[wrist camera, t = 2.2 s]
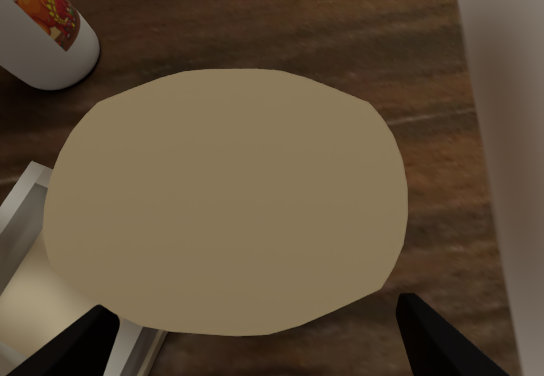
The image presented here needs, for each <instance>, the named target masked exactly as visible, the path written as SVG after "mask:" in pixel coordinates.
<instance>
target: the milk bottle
mask: <svg viewBox="0 0 544 376" xmlns="http://www.w3.org/2000/svg"><path fill="white" fill-rule="evenodd" d="M99 50H100V47H99V42H98V38H97V36H96V34H95V32H94V31H93V30H92V28H91V27H90V26H89V25H88V23H87V22H86V21H85V20H84V18H83V17H82V16H81V15H80V13H79V12H78V11H77V10H76V8H75V7H74V6H73V5H72V4H71V2H70V1H69V0H0V65H1V66H2V67H4V68H5V69H6V70H8V71H9V72H11V73H12V74H14V75H15V76H16V77H18V78H19V79H21V80H22V81H24V82H25V83H27V84H28V85H30V86H32V87H35V88H39V89H43V90H59V89H63V88H66V87H69V86H71V85H73V84H75V83H77V82H79V81H80V80H82V79H83V78H84V77H85V76H86V75H87V74H89V73H90V71H91V70H92V69H93V67H94V66H95V64H96V62H97V60H98V57H99Z"/></svg>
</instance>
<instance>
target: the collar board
mask: <svg viewBox="0 0 544 376" xmlns="http://www.w3.org/2000/svg"><path fill="white" fill-rule="evenodd" d="M52 172H53V170H52V169H50V168H47V167H45V166H43V165H40V164H38V163H35V162H33V161H31V163H30V164H29V166H28V167H27V169H26V170H25V172H24V173H23V175H22V176H21V177H20V179H19V180H18V182H17V183H16V185H15V186H14V188H13V189H12V191H11V192H10V194H9V195H8V197H7V198H6V199H5V201H4V202H3V204H2V205H1V207H0V376H6V375H7V374H8V373H9V372H11V371H12V370H13V369H15V368H16V367H17V366H18V365H20V364H21V363H22V362H23V361H25V360H26V359H27V358H29V357H30V356H31V355H32V354H34V353H35V352H36V351H38V350H39V349H40V348H41V347H43V346H44V345H45V344H47V343H48V342H49V341H50V340H52V339H53V338H54V337H56V336H57V335H58V334H59V333H61V332H62V331H63V330H64V329H66V328H67V327H68V326H70V325H71V324H72V323H73V322H75V321H76V320H77V319H79V318H80V317H81V316H82V315H84V314H85V313H86V312H88V311H89V310H90V309H91V308H93V307H94V306H96V305H98V304H99V303H98V302H96V301H95V300H93V299H92V298H90V297H89V296H87V295H86V294H84V293H83V292H82V291H80V290H79V289H78V288H76V287H75V286H73V285H72V284H71V283H69V282H68V281H66V280H65V279H64V278H62V277H61V276H59V275H58V274H57V273H55V272H54V271H52V268H51V265H50V261H49V258H48V255H47V252H46V247H45V240H44V234H43V218H44V204H45V199H46V195H47V190H48V186H49V181H50V177H51V175H52ZM118 317H119V319H120V328H119V331H118V334H117V337H116V340H115V343H114V346H113V349H112V352H111V355H110V358H109V361H108V364H107V367H106V370H105V372H104V375H103V376H148V375H149V372H150V370H151V368H152V366H153V364H154V361H155V359H156V357H157V355H158V353H159V350H160V348H161V346H162V344H163V342H164V339H165V337H166V335H167V333H168V331H165V330H160V329H155V328H150V327H144V326H140V325H138V324H136V323H134V322H131V321H129V320H127V319H125V318H123V317H121V316H119V315H118Z"/></svg>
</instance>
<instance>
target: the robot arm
mask: <svg viewBox="0 0 544 376" xmlns="http://www.w3.org/2000/svg"><path fill="white" fill-rule="evenodd" d="M396 319H397V322H398V326H399V329H400V332H401V336H402V339H403V343H404V346H405V349H406V353H407V356H408V359H409V363H410V366H411V369H412V372H413V375H414V376H510V375H509V374H508V373H507V372H505V371H504V370H503V369H502V368H501V367H500V366H498V365H497V364H496V363H495V362H494V361H493V360H492V359H490V358H489V357H488V356H487V355H486V354H485V353H483V352H482V351H481V350H480V349H479V348H478V347H477V346H475V345H474V344H473V343H472V342H471V341H470V340H468V339H467V338H466V337H465V336H464V335H463V334H461V333H460V332H459V331H458V330H457V329H456V328H455V327H453V326H452V325H451V324H450V323H449V322H448V321H446V320H445V319H444V318H443V317H442V316H441V315H440V314H438V313H437V312H436V311H435V310H434V309H433V308H431V307H430V306H429V305H428V304H427V303H426V302H424V301H423V300H422V299H421V298H420V297H419V296H418V295H416V294H414V293H401V294H400V295H399V298H398V303H397V307H396ZM119 328H120V319H119V317H118V315H117V314H115V313H113V312H111V311H110V310H108V309H107V308H105V307H104V306H102V305H101V304H98V305H96V306H94V307H93V308H91V309H90V310H89V311H88V312H86V313H85V314H84V315H82V316H81V317H80V318H79V319H77V320H76V321H75V322H73V323H72V324H71V325H70V326H68V327H67V328H66V329H64V330H63V331H62V332H61V333H59V334H58V335H57V336H56V337H54V338H53V339H52V340H50V341H49V342H48V343H47V344H45V345H44V346H43V347H41V348H40V349H39V350H38V351H36V352H35V353H34V354H32V355H31V356H30V357H29V358H27V359H26V360H25V361H23V362H22V363H21V364H20V365H18V366H17V367H16V368H15V369H13V370H12V371H11V372H9V373H8V374H7V375H6V376H103V375H104V372H105V370H106V367H107V364H108V361H109V358H110V355H111V352H112V349H113V346H114V343H115V340H116V337H117V334H118V331H119Z"/></svg>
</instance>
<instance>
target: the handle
mask: <svg viewBox="0 0 544 376" xmlns="http://www.w3.org/2000/svg"><path fill="white" fill-rule="evenodd" d="M407 218H408V195H407V182H406V177H405V172H404V166H403V161H402V157H401V155H400V152H399V149H398V147H397V144H396V141H395V138H394V136H393V134H392V133H391V131H390V130H389V128H388V126H387V125H386V123H385V122H384V120H383V119H382V117H381V116H380V115H379V114H378V113H377V111H376V110H375V109H374V108H373V107H372V106H371V104H370V103H368V102H366V101H363V100H361V99H358V98H356V97H353V96H351V95H349V94H346V93H344V92H341V91H339V90H336V89H334V88H331V87H329V86H326V85H324V84H321V83H318V82H316V81H313V80H310V79H308V78H305V77H302V76H298V75H294V74H291V73H287V72H283V71H276V70H263V69H206V70H195V71H185V72H181V73H177V74H173V75H170V76H166V77H162V78H159V79H157V80H154V81H151V82H149V83H146V84H143V85H141V86H138V87H135V88H133V89H130V90H128V91H125V92H123V93H120V94H118V95H115V96H113V97H110V98H108V99H105V100H103V101H100V102H98V103H97V104H96V105H95V106H94V107H93V108H92V109H91V110H90V111H89V112H88V113H87V114H86V115H85V116H84V117H83V118H82V120H81V121H80V122H79V123H78V124H77V126H76V127H75V128H74V129H73V131H72V132H71V134H70V135H69V137H68V139H67V141H66V143H65V145H64V146H63V148H62V150H61V152H60V154H59V156H58V159H57V162H56V164H55V167H54V169H53V172H52V175H51V177H50V181H49V186H48V190H47V195H46V199H45V204H44V218H43V234H44V240H45V247H46V252H47V255H48V258H49V261H50V265H51V268H52V271H54V272H55V273H57V274H58V275H59V276H61V277H62V278H64V279H65V280H66V281H68V282H69V283H71V284H72V285H73V286H75V287H76V288H78V289H79V290H80V291H82V292H83V293H84V294H86V295H87V296H89V297H90V298H92V299H93V300H95V301H96V302H98V303H99V304H101V305H102V306H104V307H105V308H107V309H108V310H110V311H111V312H113V313H115V314H117V315H119V316H121V317H123V318H125V319H127V320H129V321H131V322H134V323H136V324H138V325H140V326H144V327H150V328H155V329H160V330H165V331H170V332H184V333H198V334H212V335H226V336H251V335H269V334H272V333H276V332H279V331H283V330H286V329H290V328H293V327H296V326H300V325H302V324H304V323H307V322H309V321H311V320H314V319H316V318H318V317H321V316H323V315H325V314H328V313H330V312H332V311H334V310H337V309H339V308H341V307H343V306H345V305H347V304H349V303H352V302H354V301H356V300H358V299H360V298H362V297H364V296H366V295H369V294H371V293H373V292H375V291H377V290H379V289H381V288H382V286H383V284H384V283H385V281H386V279H387V278H388V276H389V275H390V273H391V271H392V270H393V268H394V266H395V263H396V261H397V258H398V256H399V254H400V251H401V249H402V246H403V243H404V237H405V231H406V225H407Z"/></svg>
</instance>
